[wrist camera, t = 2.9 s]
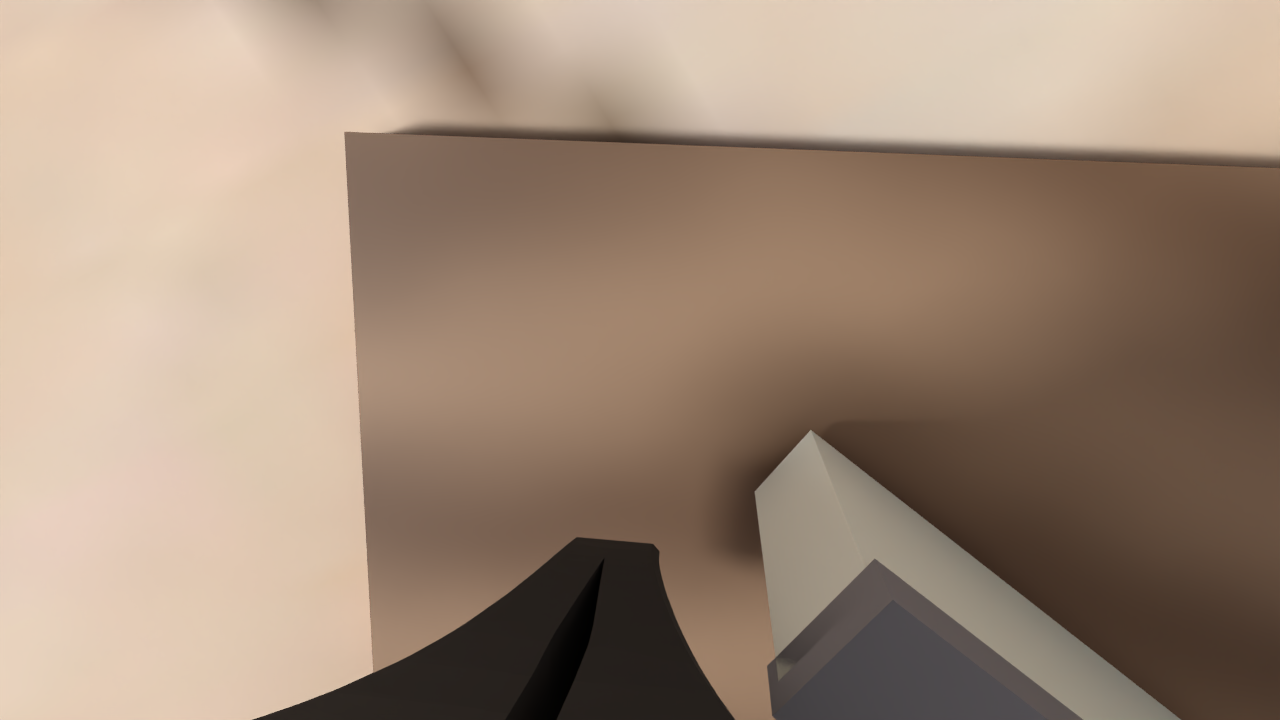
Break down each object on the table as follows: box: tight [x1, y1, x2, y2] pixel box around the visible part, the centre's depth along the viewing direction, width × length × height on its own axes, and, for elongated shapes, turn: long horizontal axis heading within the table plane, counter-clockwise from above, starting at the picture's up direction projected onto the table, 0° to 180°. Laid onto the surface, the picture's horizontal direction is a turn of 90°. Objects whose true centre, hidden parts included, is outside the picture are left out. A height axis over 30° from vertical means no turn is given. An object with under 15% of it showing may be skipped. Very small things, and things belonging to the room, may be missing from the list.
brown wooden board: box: [345, 132, 1280, 720], centre depth 10 cm, size 15×22×8 cm
